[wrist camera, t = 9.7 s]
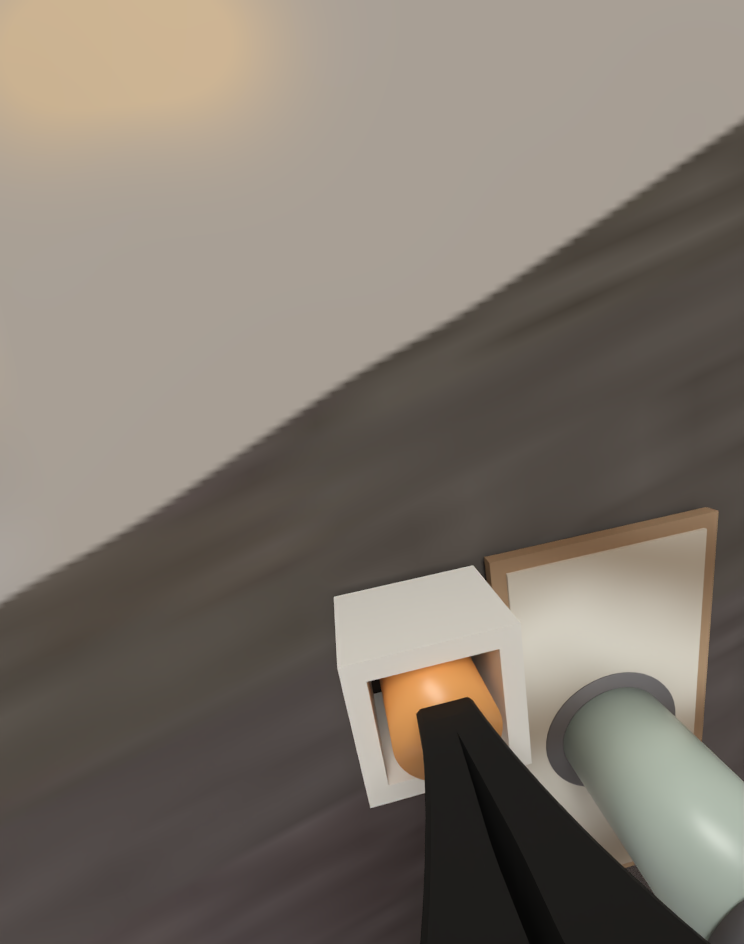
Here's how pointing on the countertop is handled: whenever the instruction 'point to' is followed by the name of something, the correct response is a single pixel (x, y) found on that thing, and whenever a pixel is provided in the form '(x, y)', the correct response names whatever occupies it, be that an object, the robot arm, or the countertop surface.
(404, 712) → the button
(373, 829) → the countertop surface
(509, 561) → the sketch pad
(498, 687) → the button box
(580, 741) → the ink stamp
